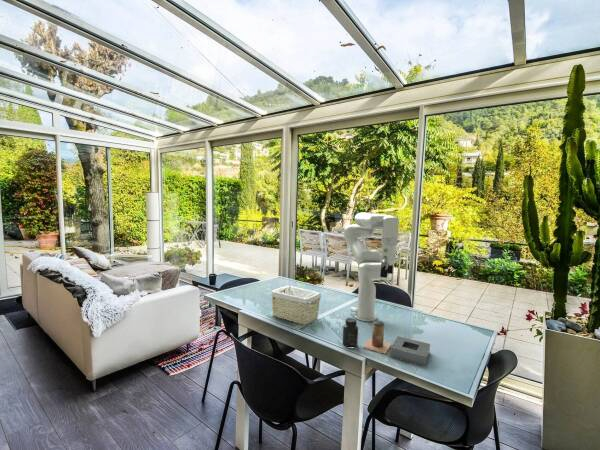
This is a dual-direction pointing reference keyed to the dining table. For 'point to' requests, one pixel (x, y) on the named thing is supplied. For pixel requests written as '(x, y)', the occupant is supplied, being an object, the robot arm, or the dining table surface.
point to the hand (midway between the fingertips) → (386, 275)
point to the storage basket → (295, 304)
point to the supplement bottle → (350, 333)
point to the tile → (379, 349)
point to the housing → (410, 350)
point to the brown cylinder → (377, 334)
